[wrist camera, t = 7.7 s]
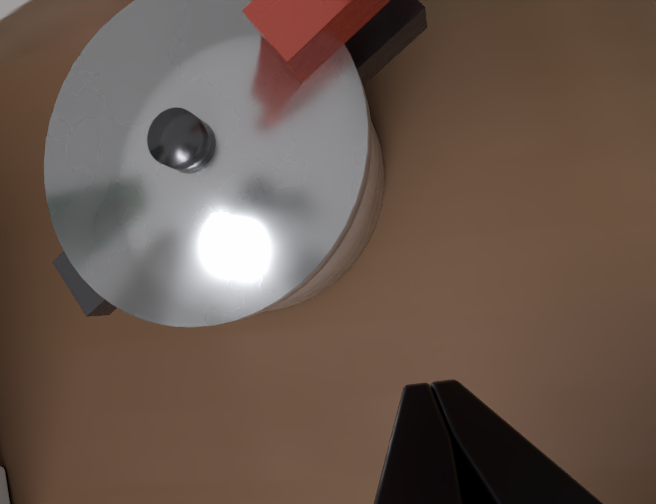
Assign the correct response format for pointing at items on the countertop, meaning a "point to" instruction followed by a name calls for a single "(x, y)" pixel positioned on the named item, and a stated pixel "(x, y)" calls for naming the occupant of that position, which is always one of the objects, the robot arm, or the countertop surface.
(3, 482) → the coffee box
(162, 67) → the lid
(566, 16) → the countertop surface
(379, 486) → the robot arm
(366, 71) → the pot
